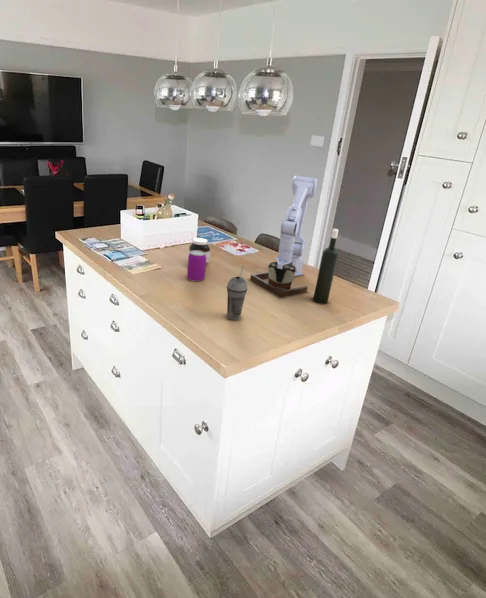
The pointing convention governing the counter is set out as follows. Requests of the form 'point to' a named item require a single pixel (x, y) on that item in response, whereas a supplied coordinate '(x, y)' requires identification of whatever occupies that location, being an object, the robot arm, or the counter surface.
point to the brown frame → (258, 280)
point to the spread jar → (200, 247)
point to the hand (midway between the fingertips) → (281, 279)
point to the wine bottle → (326, 271)
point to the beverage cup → (236, 296)
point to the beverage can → (196, 265)
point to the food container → (287, 277)
